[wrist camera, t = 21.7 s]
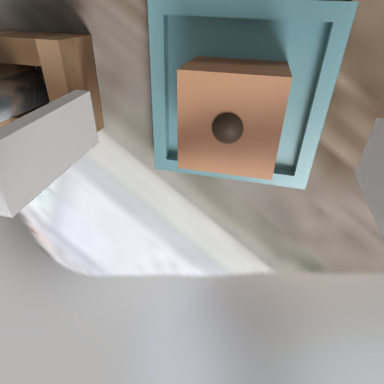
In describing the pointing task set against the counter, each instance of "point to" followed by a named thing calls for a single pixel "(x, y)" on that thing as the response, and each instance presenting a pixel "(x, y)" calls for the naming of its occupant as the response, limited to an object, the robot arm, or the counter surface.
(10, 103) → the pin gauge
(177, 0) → the tray
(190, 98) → the block
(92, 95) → the block
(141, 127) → the counter surface
